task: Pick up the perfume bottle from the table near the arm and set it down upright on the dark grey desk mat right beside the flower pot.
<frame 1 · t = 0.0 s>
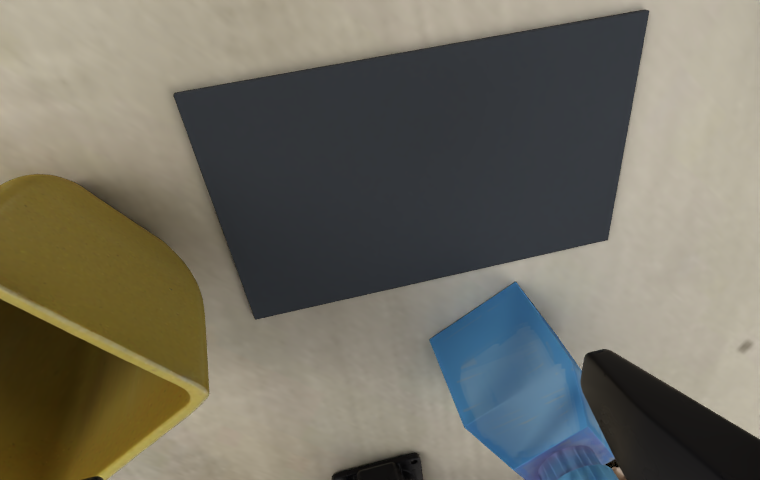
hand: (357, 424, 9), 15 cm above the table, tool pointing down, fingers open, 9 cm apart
desk mat: (430, 178, 23), on the table
perfume bottle: (493, 335, 31), on the table
flower pot: (87, 246, 22), on the table
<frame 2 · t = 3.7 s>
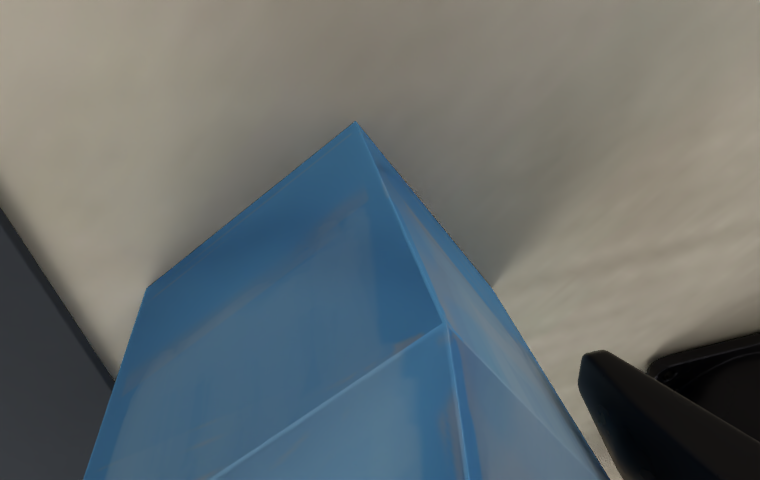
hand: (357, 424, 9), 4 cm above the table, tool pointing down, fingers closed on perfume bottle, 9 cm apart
perfume bottle: (333, 284, 13), on the table, touching gripper
when the fingers open (5 cm above the table, at t = 9.5 s): perfume bottle stays where it is, resting on desk mat.
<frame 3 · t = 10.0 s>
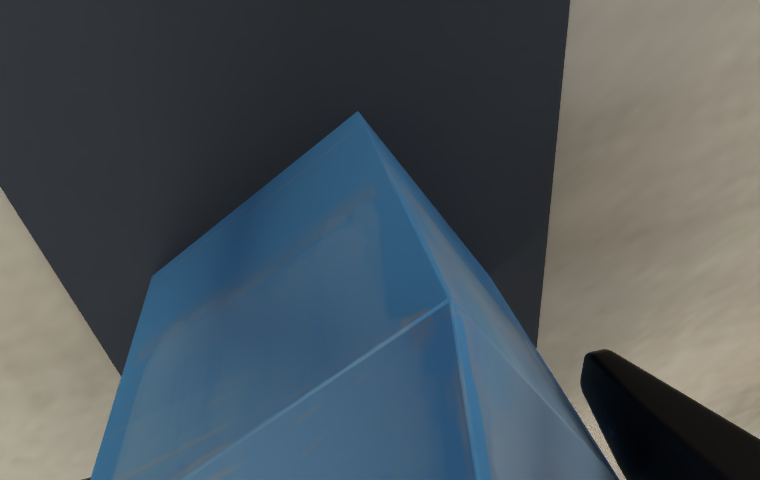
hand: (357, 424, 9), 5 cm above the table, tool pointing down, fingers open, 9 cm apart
desk mat: (286, 80, 10), on the table
perfume bottle: (334, 272, 13), resting on desk mat
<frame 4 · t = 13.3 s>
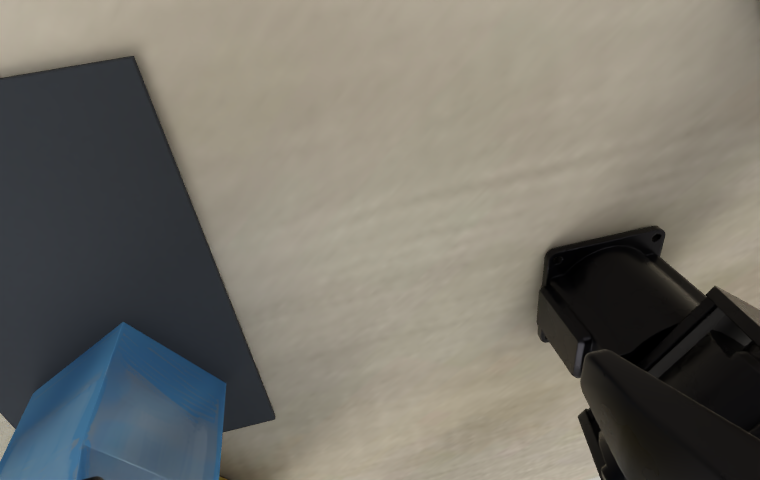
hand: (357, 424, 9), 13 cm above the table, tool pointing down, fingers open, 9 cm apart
desk mat: (86, 310, 22), on the table
perfume bottle: (134, 384, 24), resting on desk mat
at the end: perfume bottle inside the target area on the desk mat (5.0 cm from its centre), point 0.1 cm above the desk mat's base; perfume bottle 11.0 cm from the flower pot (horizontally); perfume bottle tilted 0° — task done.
